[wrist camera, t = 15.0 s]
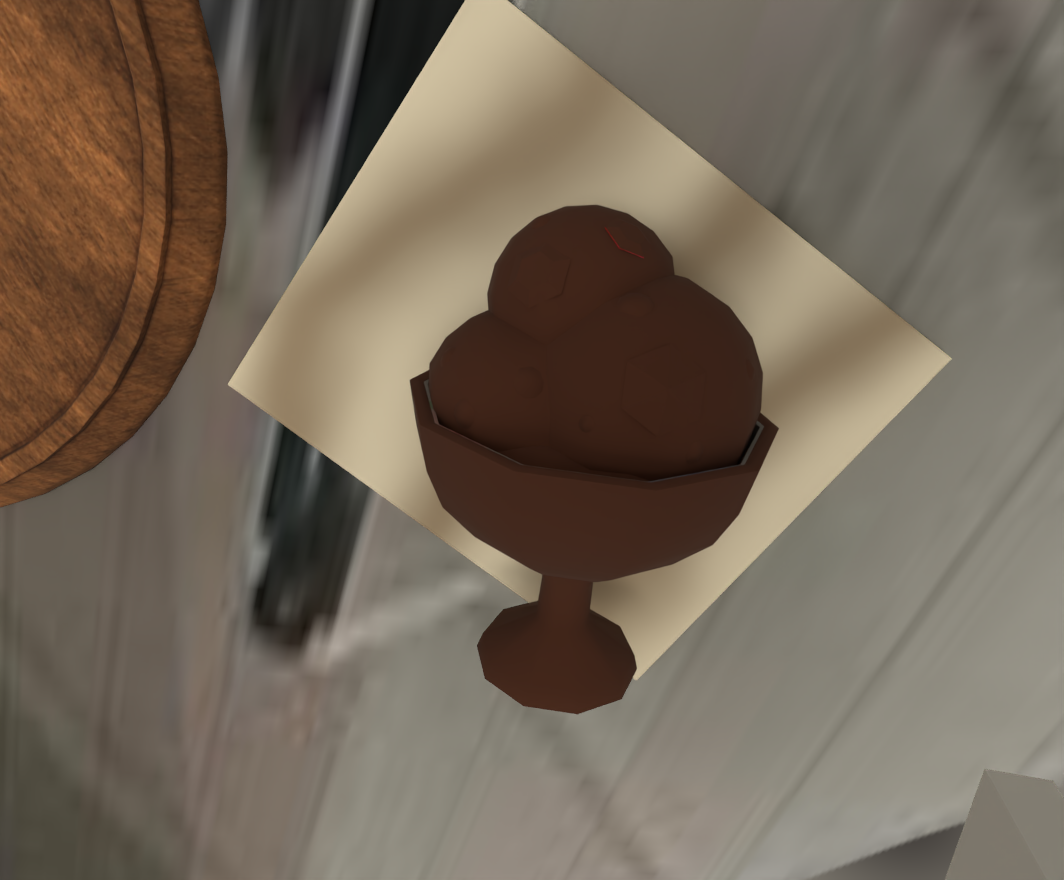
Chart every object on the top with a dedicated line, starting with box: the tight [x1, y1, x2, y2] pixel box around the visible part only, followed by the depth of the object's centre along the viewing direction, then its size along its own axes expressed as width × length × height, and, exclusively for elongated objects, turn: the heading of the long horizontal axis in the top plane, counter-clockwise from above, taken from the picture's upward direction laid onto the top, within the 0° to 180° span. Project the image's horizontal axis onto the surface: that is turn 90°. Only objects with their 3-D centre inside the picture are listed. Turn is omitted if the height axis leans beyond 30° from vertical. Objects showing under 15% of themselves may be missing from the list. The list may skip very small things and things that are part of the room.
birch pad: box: [228, 0, 952, 680], centre depth 30 cm, size 20×17×1 cm
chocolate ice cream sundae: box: [410, 205, 779, 714], centre depth 26 cm, size 11×11×15 cm
